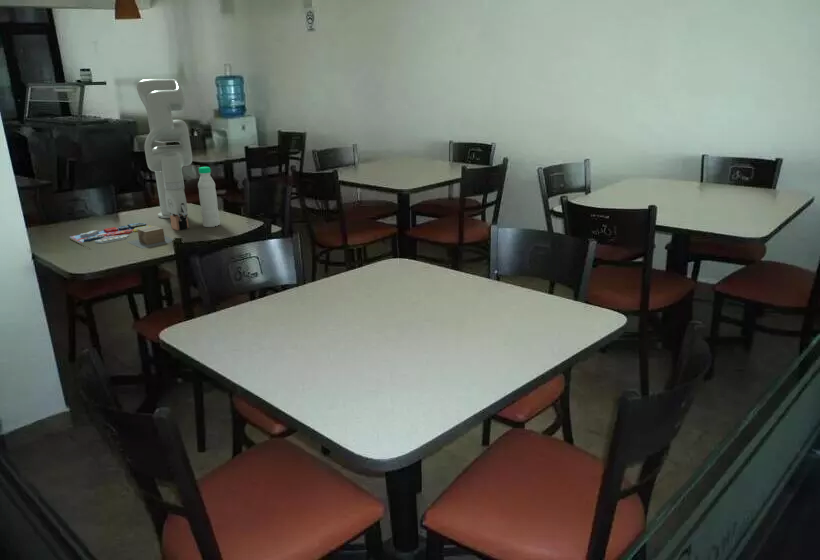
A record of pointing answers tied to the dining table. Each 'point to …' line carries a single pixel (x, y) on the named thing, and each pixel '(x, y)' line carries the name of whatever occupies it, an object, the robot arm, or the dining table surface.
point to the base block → (151, 235)
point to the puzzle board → (108, 234)
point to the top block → (176, 222)
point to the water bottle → (208, 198)
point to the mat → (142, 245)
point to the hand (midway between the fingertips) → (180, 228)
